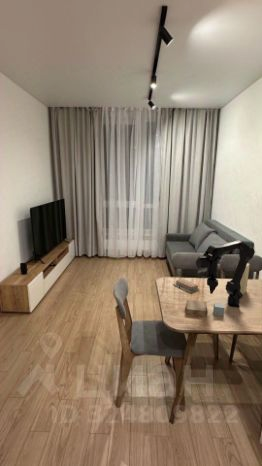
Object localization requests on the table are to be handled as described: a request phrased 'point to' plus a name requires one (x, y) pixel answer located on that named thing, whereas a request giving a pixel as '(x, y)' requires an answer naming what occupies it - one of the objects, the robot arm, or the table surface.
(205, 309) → the walnut block
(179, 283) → the packaged product
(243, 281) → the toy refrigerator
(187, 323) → the table surface
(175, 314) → the table surface
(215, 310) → the slate cube
